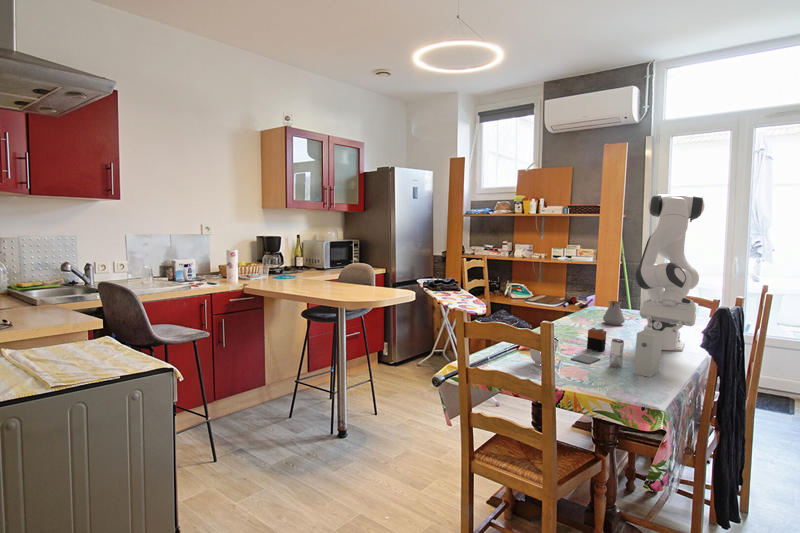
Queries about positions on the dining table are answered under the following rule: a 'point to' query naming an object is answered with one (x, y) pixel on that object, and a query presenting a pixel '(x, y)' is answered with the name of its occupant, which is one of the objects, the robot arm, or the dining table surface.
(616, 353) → the can
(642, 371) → the control box
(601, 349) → the battery
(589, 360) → the mat
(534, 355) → the teacup
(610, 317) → the coffee pot
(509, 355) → the dining table surface
